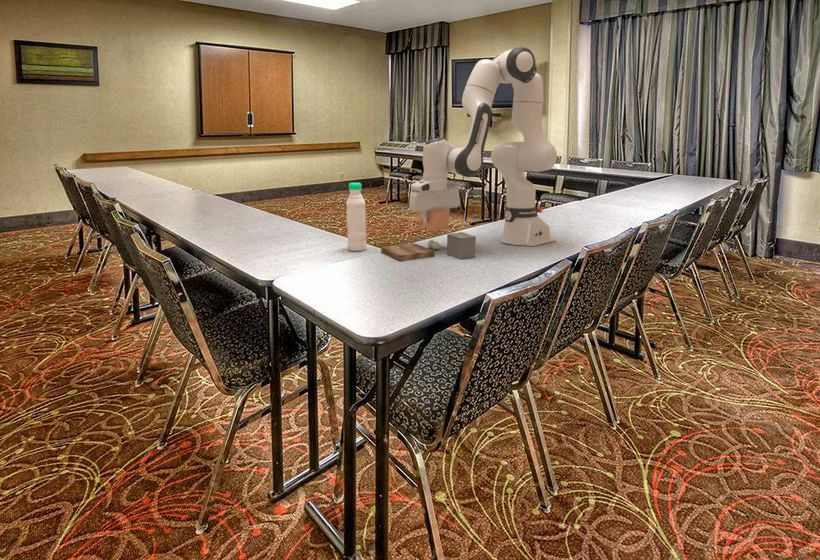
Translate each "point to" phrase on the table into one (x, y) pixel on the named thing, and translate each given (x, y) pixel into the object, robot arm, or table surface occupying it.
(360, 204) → the water bottle
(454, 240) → the charcoal cover
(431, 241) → the marble
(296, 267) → the table surface
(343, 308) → the table surface
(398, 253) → the walnut board
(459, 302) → the table surface
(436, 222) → the terracotta cover
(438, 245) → the marble
